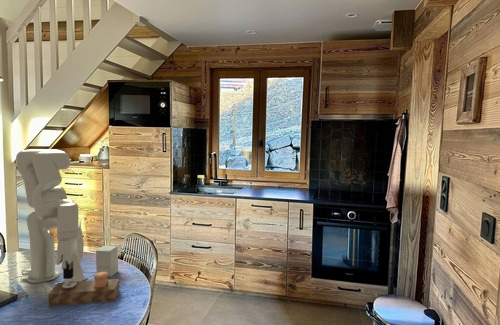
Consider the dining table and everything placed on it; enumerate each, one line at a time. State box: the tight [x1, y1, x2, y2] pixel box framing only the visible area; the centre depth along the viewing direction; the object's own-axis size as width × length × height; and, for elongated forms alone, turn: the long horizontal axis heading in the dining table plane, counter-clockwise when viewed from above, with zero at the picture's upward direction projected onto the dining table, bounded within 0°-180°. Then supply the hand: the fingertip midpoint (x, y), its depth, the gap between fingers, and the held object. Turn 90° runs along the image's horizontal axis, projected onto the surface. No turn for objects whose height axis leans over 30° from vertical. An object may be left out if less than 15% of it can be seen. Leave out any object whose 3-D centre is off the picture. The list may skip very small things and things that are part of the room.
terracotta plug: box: [93, 272, 109, 288], centre depth 133 cm, size 5×5×6 cm
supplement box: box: [95, 245, 119, 278], centre depth 156 cm, size 7×7×13 cm
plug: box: [62, 281, 77, 290], centre depth 131 cm, size 5×5×6 cm
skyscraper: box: [63, 221, 88, 282], centre depth 147 cm, size 8×8×28 cm
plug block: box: [47, 278, 120, 308], centre depth 133 cm, size 24×10×5 cm, turn 101°
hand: (68, 277), depth 132 cm, fingers closed
